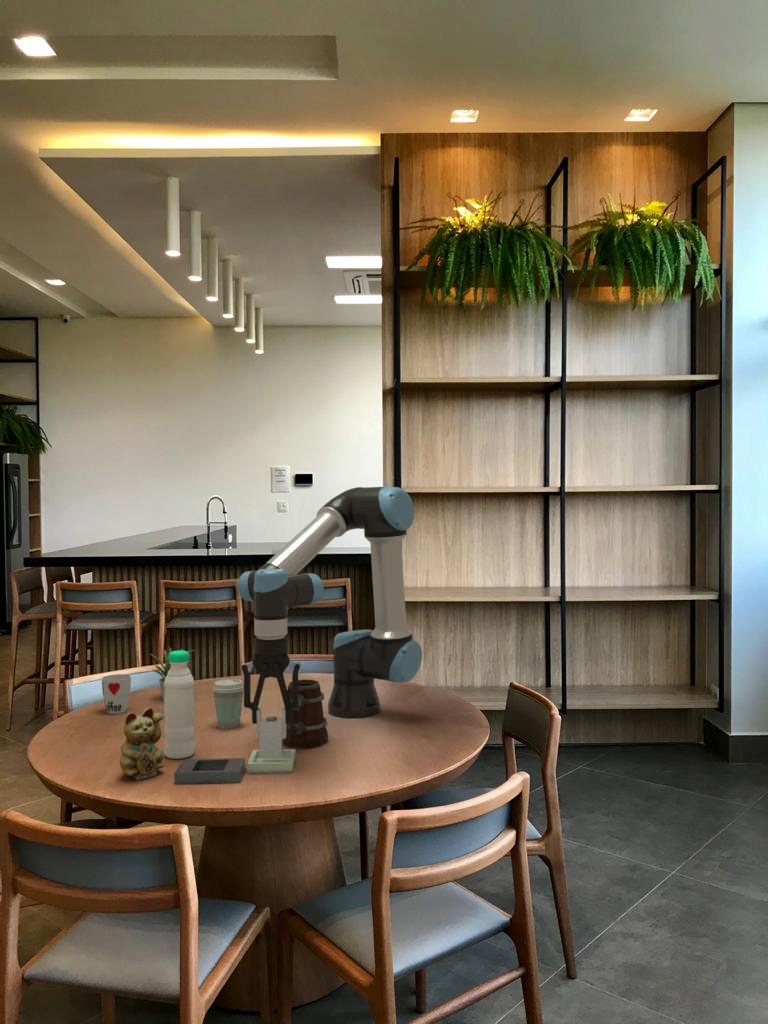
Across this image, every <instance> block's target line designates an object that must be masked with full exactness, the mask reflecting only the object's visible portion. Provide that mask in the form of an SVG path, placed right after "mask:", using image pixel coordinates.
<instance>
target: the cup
mask: <svg viewBox="0 0 768 1024" xmlns="http://www.w3.org/2000/svg"><path fill="white" fill-rule="evenodd" d="M131 682H132V675H130V674H123V673H122V674H121V673H120V674H119V673H118V674H109V675H105V676H103V677H101V686H102V687H101V688H102V689H101V690H102V697H103V702H104V706H105V709H106V712H107V713H108V714H112V715H117V714H124V713H125V712H126V711H127V708H128V705H129V702H130V695H131V688H132V687H131V684H132V683H131Z"/></svg>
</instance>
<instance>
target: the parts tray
mask: <svg viewBox="0 0 768 1024" xmlns="http://www.w3.org/2000/svg"><path fill="white" fill-rule="evenodd" d="M295 761H296V748H286V749H285V748H284V751H283V755H282V757H260V749H252V751H251V753H250V757H249V759H248V761H247V765H246V767H247V768H246V769H247V773H246V774H248V775H250V774H251V775H253V774H257V775H258V774H292V773H293V771H294V766H295V763H296V762H295Z"/></svg>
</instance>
